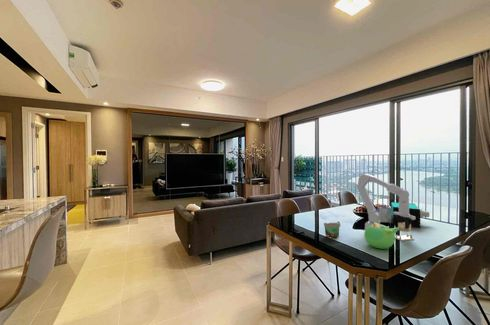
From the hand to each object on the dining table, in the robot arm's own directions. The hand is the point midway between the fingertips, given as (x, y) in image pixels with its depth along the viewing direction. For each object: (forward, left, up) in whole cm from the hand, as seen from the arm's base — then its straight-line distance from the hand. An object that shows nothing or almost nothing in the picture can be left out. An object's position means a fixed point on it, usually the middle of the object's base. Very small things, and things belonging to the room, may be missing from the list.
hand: (403, 227), depth 146 cm
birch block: (0, 0, -2) cm, 2 cm away
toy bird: (-27, -8, -8) cm, 29 cm away
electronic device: (+37, +28, -8) cm, 48 cm away
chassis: (0, 0, -8) cm, 8 cm away
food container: (-44, +14, -8) cm, 47 cm away
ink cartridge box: (+21, +38, -8) cm, 44 cm away
